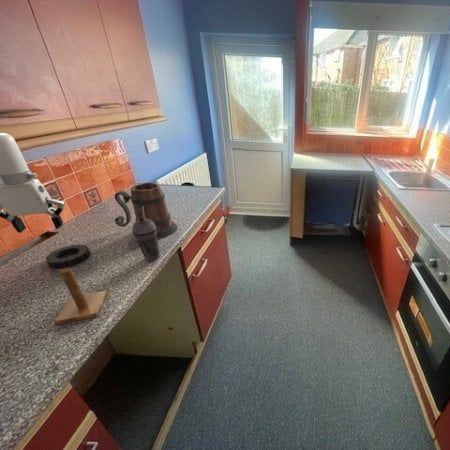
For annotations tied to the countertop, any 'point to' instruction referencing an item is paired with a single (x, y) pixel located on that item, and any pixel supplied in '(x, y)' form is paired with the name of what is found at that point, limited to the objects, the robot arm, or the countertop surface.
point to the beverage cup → (147, 237)
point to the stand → (79, 301)
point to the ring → (59, 263)
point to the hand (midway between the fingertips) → (41, 228)
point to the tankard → (147, 207)
